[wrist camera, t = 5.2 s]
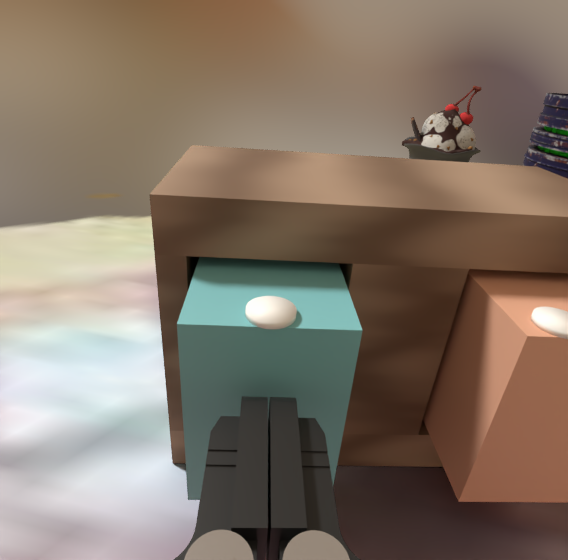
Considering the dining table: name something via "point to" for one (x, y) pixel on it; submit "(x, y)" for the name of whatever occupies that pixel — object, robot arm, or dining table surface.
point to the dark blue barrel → (551, 137)
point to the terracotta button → (505, 389)
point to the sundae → (444, 136)
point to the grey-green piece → (264, 347)
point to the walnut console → (359, 260)
